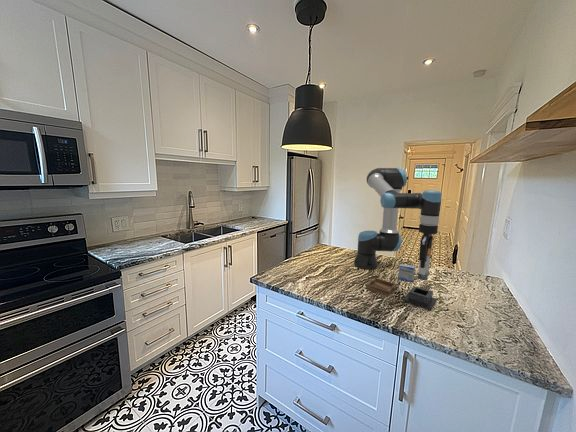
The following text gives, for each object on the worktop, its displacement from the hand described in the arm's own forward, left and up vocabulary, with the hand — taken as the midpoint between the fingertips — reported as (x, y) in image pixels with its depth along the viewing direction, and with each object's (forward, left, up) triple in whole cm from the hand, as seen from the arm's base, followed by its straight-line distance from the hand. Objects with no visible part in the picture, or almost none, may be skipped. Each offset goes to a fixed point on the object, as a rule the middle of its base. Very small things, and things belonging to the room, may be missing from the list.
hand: (423, 272), depth 116 cm
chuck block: (0, 0, -15) cm, 15 cm away
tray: (0, -19, -15) cm, 24 cm away
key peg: (0, 0, -3) cm, 3 cm away
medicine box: (-22, -13, -15) cm, 30 cm away
